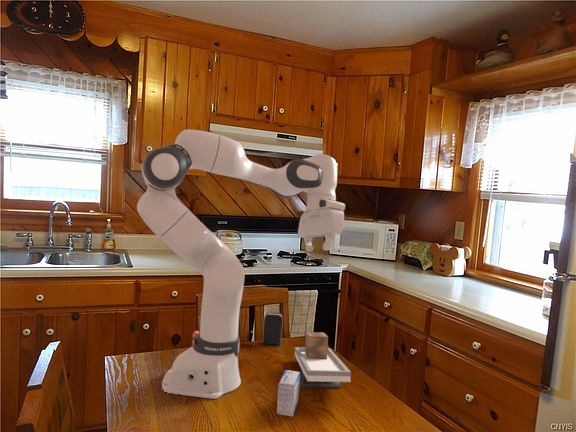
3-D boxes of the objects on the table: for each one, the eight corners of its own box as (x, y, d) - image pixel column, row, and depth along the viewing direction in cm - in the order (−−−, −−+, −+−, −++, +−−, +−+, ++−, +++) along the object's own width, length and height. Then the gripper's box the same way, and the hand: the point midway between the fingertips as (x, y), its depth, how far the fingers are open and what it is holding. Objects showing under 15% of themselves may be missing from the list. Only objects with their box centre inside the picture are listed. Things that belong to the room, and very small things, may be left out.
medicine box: (293, 417, 104) (295, 385, 103) (276, 414, 105) (278, 382, 104) (298, 401, 112) (300, 371, 111) (282, 398, 112) (284, 369, 112)
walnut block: (308, 358, 127) (309, 336, 128) (305, 353, 134) (306, 332, 135) (327, 359, 128) (328, 336, 129) (322, 353, 135) (323, 332, 136)
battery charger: (281, 341, 153) (283, 312, 152) (281, 345, 149) (283, 315, 148) (262, 340, 152) (264, 310, 151) (262, 344, 149) (264, 314, 148)
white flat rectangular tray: (307, 381, 109) (307, 370, 110) (294, 355, 137) (295, 347, 137) (350, 382, 111) (350, 371, 111) (329, 356, 138) (329, 348, 138)
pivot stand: (301, 387, 120) (301, 374, 119) (297, 374, 128) (298, 362, 127) (340, 387, 121) (341, 375, 120) (335, 374, 129) (336, 363, 128)
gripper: (295, 208, 133) (291, 250, 131) (331, 200, 115) (327, 248, 113) (311, 212, 136) (308, 252, 134) (348, 204, 118) (345, 250, 116)
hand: (317, 250), depth 123 cm, fingers open, 8 cm apart
